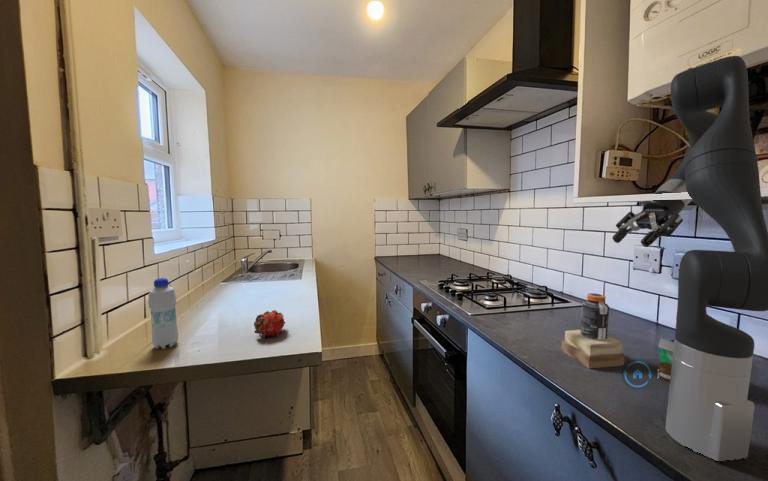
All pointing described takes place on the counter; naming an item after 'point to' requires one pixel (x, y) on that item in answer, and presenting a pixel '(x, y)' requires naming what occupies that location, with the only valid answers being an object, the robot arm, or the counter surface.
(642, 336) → the counter surface
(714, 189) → the robot arm
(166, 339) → the bottle
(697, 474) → the counter surface
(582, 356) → the tower base
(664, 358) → the food container
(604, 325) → the pill bottle
